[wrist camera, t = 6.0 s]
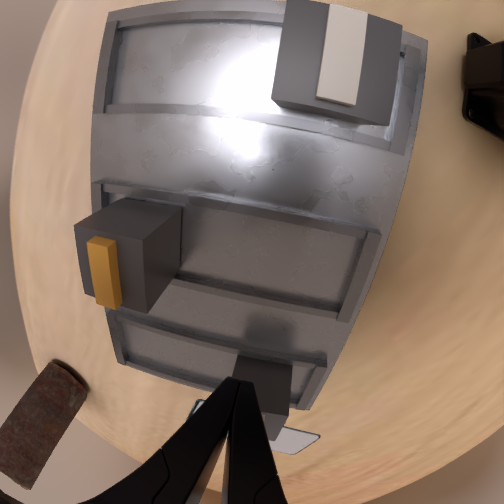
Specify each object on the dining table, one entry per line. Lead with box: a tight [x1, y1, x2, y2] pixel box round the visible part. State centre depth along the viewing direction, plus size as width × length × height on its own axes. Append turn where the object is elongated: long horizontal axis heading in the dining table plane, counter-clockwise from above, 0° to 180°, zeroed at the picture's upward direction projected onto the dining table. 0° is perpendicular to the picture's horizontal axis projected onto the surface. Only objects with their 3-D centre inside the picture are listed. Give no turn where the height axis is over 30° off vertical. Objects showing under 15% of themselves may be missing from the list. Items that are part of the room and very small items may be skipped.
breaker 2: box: [271, 0, 402, 126], centre depth 9 cm, size 4×4×5 cm
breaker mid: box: [74, 198, 182, 314], centre depth 14 cm, size 4×4×5 cm
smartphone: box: [186, 399, 320, 455], centre depth 28 cm, size 7×1×15 cm
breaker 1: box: [232, 355, 293, 441], centre depth 18 cm, size 4×4×5 cm
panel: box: [90, 0, 428, 410], centre depth 17 cm, size 18×28×3 cm, turn 172°
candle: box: [0, 362, 87, 490], centre depth 22 cm, size 8×7×20 cm
